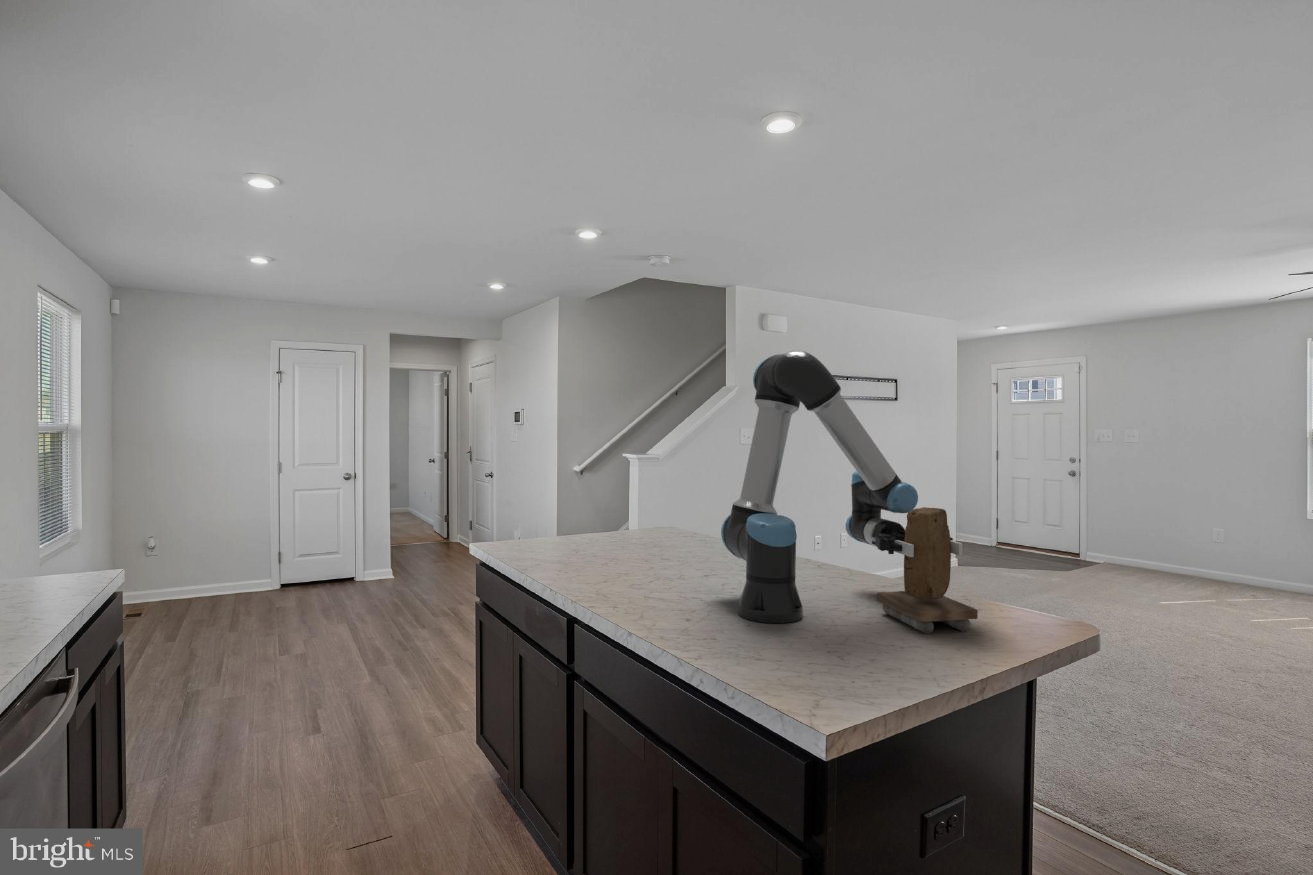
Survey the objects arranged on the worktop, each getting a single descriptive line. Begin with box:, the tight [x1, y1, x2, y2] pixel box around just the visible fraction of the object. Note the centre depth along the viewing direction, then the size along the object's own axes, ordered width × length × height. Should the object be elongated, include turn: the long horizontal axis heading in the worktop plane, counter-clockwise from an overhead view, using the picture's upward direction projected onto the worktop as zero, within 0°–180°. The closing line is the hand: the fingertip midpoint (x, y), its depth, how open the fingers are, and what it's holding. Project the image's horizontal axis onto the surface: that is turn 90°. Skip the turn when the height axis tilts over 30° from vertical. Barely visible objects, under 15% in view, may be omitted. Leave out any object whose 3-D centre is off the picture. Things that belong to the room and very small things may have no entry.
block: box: [903, 506, 952, 599], centre depth 153 cm, size 11×8×20 cm
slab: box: [876, 590, 979, 635], centre depth 155 cm, size 14×18×5 cm
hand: (936, 550), depth 150 cm, fingers closed on block, 11 cm apart
